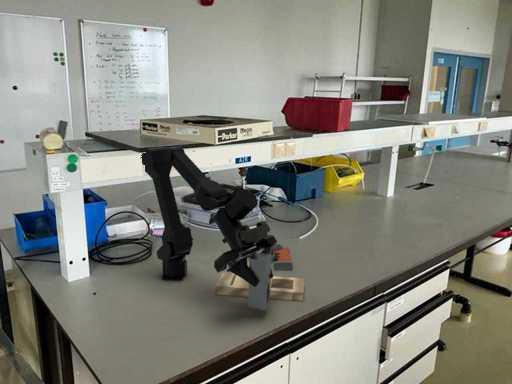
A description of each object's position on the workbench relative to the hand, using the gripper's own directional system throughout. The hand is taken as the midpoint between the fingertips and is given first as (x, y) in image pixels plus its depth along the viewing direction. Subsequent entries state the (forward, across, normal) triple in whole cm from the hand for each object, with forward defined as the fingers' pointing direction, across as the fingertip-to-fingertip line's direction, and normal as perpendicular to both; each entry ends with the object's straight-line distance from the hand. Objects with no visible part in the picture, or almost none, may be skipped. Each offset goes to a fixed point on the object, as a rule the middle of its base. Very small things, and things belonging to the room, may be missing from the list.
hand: (264, 281), depth 105 cm
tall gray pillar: (+4, 0, +6) cm, 7 cm away
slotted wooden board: (0, +10, +13) cm, 17 cm away
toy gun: (-8, +28, +23) cm, 37 cm away
